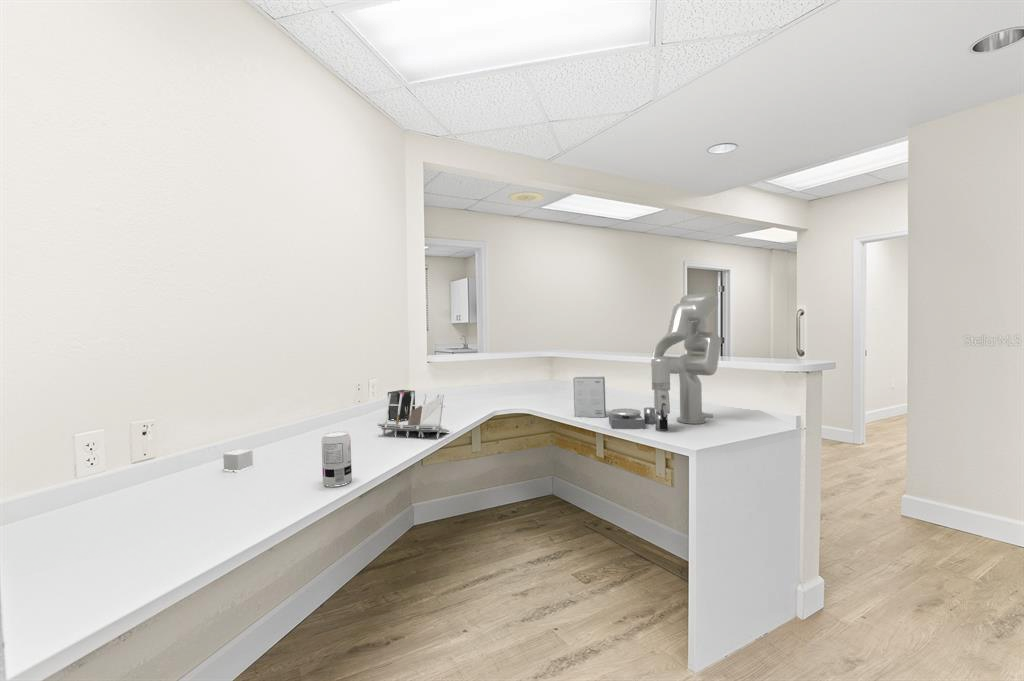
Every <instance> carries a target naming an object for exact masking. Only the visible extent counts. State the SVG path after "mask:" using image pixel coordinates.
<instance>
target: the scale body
mask: <svg viewBox="0 0 1024 681" xmlns="http://www.w3.org/2000/svg"><path fill="white" fill-rule="evenodd" d="M608 423H609V426H610V428H611V429H612V430H644V429H645V423H644V417H642V415H641V414H640V415H636V416H629V417H622V416H619V415H614V414H612V413H609V414H608Z"/></svg>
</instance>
